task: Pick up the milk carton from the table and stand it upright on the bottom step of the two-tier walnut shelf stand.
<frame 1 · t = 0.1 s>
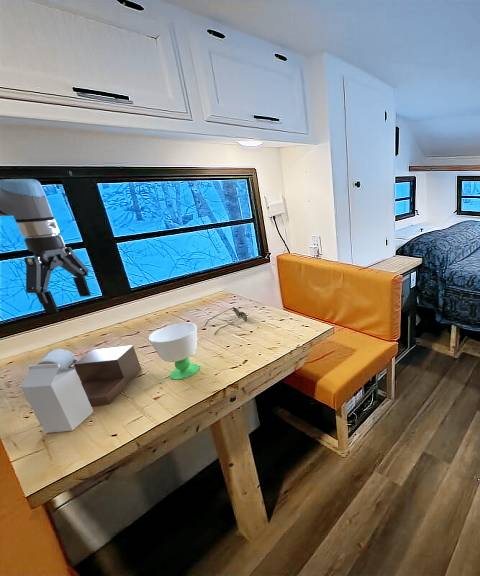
hand: (70, 303, 95), 28 cm above the table, tool pointing down, fingers open, 13 cm apart
milk carton: (70, 423, 85), on the table
shelf stand: (106, 388, 99), on the table
ceramic mug: (64, 372, 108), on the table
cup: (185, 372, 107), on the table
sunglasses: (226, 325, 141), on the table
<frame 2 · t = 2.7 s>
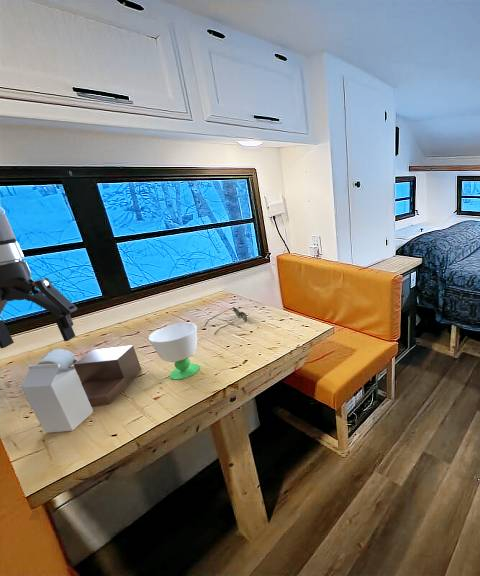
hand: (39, 342, 78), 25 cm above the table, tool pointing down, fingers open, 13 cm apart
nothing on the table moved.
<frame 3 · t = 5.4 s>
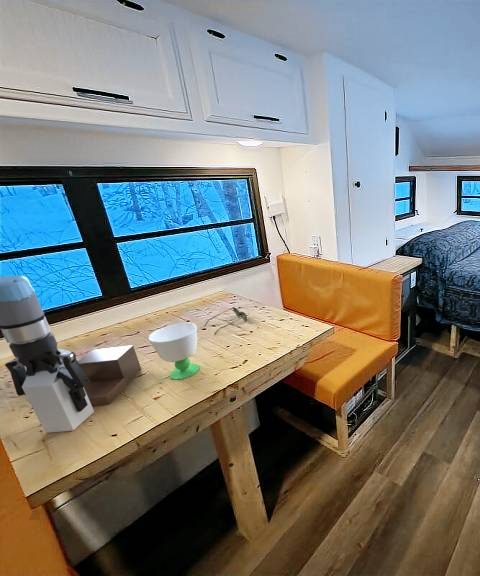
hand: (65, 410, 84), 4 cm above the table, tool pointing down, fingers closed on milk carton, 7 cm apart
milk carton: (71, 422, 85), on the table, touching gripper
everything else where it was.
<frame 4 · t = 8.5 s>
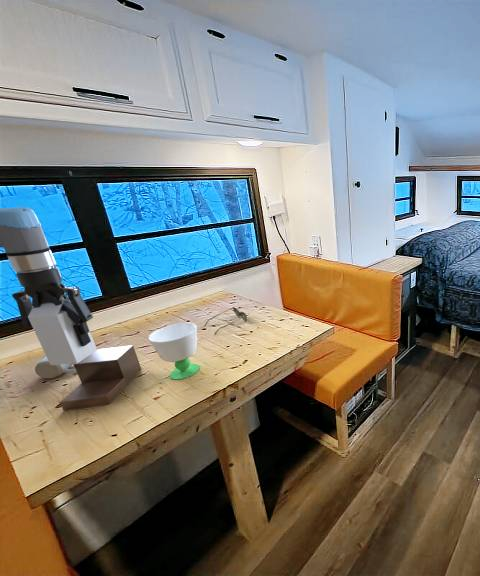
hand: (69, 345, 87), 19 cm above the table, tool pointing down, fingers closed on milk carton, 7 cm apart
milk carton: (75, 358, 88), point 15 cm above the table, touching gripper
everything else where it was.
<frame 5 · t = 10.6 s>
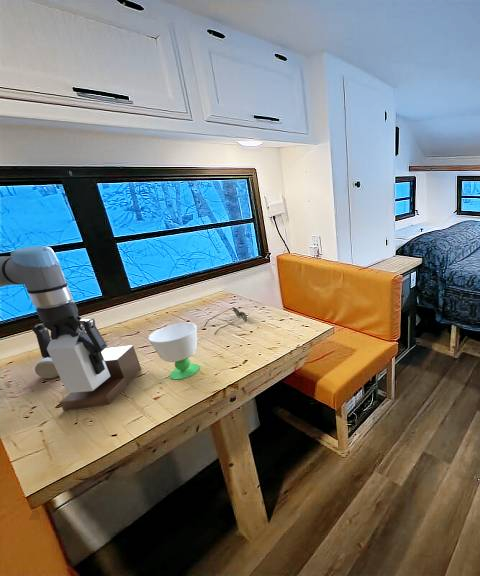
hand: (85, 373, 91), 9 cm above the table, tool pointing down, fingers closed on milk carton, 7 cm apart
milk carton: (90, 385, 93), point 5 cm above the table, touching gripper
everything else where it was.
when the fingers open (7 cm above the table, at t = 11.7 s): milk carton stays where it is, resting on shelf stand.
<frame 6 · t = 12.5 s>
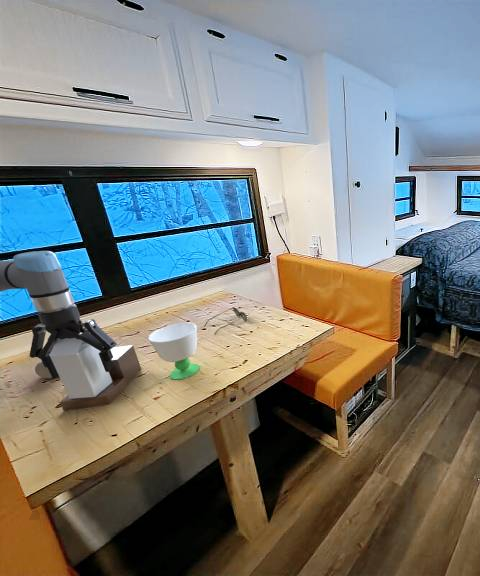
hand: (84, 372, 91), 10 cm above the table, tool pointing down, fingers open, 13 cm apart
milk carton: (92, 391, 93), point 3 cm above the table, touching shelf stand
everything else where it was.
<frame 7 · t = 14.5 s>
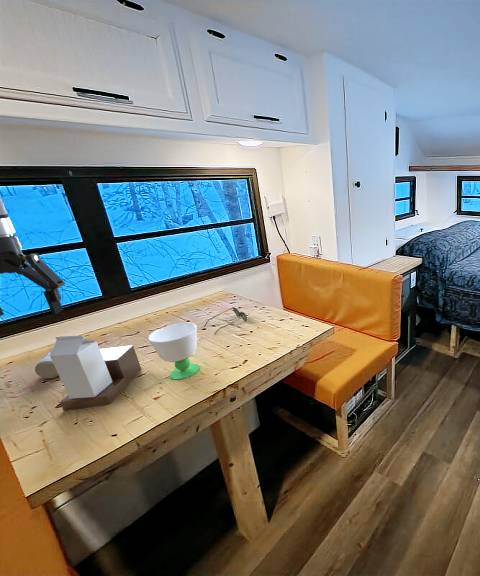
hand: (28, 314, 82), 30 cm above the table, tool pointing down, fingers open, 13 cm apart
nothing on the table moved.
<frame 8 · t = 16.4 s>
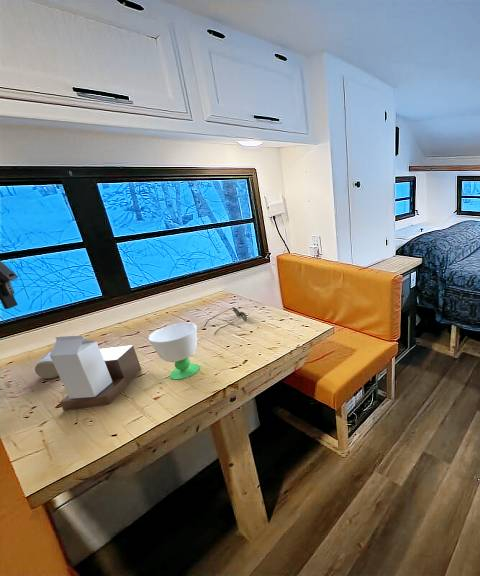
nothing on the table moved.
at the end: milk carton inside the target area on the shelf stand (0.2 cm from its centre), point 2.8 cm above the shelf stand's base; milk carton tilted 0°; the gripper is holding nothing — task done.
